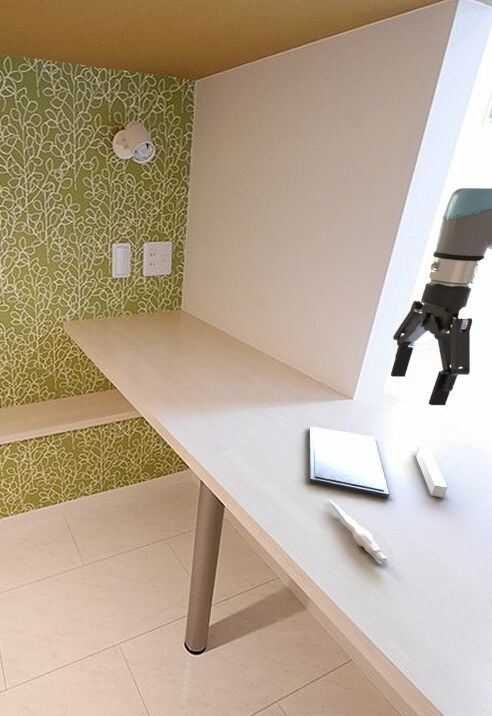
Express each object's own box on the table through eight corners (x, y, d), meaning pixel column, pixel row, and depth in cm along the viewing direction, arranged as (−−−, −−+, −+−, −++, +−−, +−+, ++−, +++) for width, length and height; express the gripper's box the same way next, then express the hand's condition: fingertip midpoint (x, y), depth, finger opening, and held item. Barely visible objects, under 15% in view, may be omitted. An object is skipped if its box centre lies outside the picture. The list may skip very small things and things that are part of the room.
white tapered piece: (390, 565, 67) (394, 556, 66) (375, 568, 66) (378, 559, 66) (334, 502, 80) (336, 494, 79) (321, 504, 80) (323, 496, 79)
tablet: (373, 440, 100) (374, 436, 100) (388, 498, 81) (389, 493, 81) (309, 430, 104) (310, 425, 104) (309, 482, 86) (310, 477, 85)
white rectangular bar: (424, 454, 95) (427, 445, 94) (443, 497, 82) (447, 487, 81) (414, 453, 96) (417, 443, 95) (431, 495, 83) (435, 485, 82)
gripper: (392, 270, 89) (367, 366, 99) (477, 298, 67) (435, 418, 76) (428, 270, 90) (400, 366, 99) (525, 298, 67) (477, 419, 76)
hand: (415, 389), depth 87 cm, fingers open, 13 cm apart
